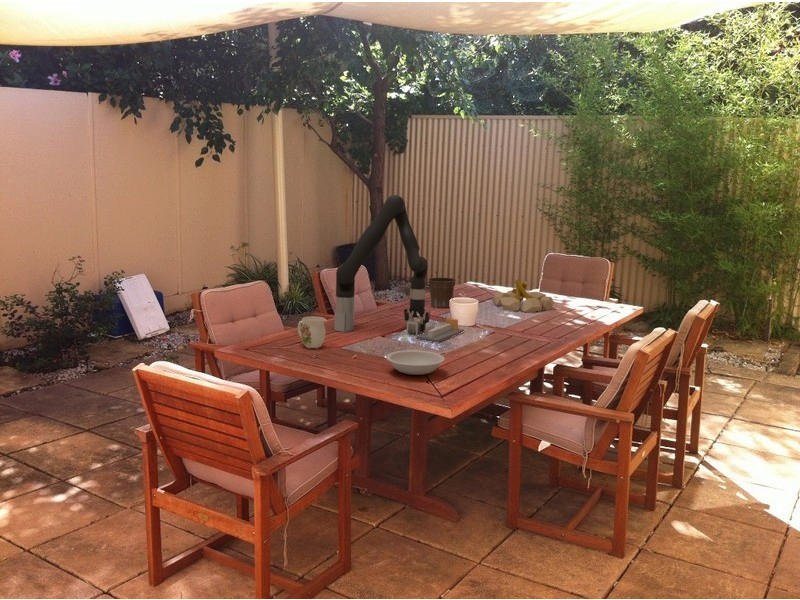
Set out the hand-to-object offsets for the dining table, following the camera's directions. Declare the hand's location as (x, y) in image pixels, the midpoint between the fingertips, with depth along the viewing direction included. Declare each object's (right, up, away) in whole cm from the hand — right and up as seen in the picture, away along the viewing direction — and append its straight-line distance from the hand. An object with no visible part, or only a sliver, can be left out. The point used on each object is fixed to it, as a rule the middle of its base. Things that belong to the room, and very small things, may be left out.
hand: (416, 330), depth 390 cm
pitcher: (-49, -6, -31) cm, 58 cm away
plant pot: (+16, +11, +72) cm, 75 cm away
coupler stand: (+12, -3, -3) cm, 12 cm away
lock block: (0, -2, 0) cm, 2 cm away
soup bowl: (-2, -15, -69) cm, 71 cm away
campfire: (+65, +10, +77) cm, 102 cm away
